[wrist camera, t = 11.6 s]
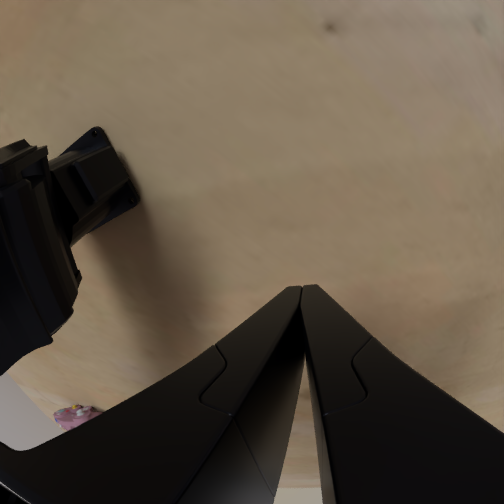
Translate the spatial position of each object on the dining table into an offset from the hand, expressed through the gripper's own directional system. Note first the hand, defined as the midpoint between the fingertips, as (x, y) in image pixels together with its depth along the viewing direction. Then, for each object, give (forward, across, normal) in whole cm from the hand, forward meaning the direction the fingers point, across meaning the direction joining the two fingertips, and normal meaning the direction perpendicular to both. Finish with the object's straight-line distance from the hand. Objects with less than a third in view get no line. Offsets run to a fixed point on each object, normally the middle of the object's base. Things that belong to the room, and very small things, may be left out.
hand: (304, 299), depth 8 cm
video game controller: (+12, -37, -32) cm, 50 cm away
